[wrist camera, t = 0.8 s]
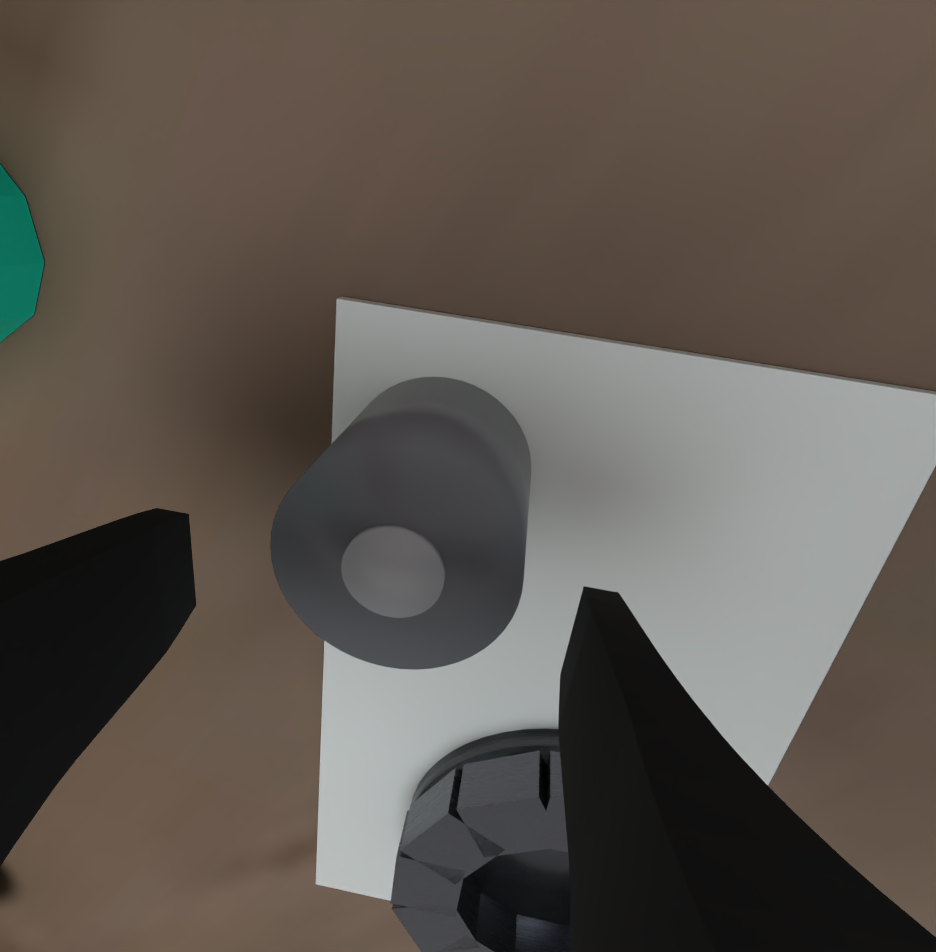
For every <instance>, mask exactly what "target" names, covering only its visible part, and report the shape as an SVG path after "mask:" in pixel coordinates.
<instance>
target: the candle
mask: <svg viewBox="0 0 936 952" xmlns="http://www.w3.org/2000/svg"><path fill="white" fill-rule="evenodd" d="M44 263H45V262H44V259H43V256H42V252H41V249H40V245H39V242H38V239H37V235H36V232H35V228H34V225H33V222H32V218H31V215H30V211H29V208H28V205H27V201H26V198H25V196H24V195H23V193H22V192H21V191H20V189H19V188H18V187H17V185H16V184H15V183H14V182H13V180H12V179H11V178H10V176H9V175H8V174H7V172H6V171H5V170H4V169H3V167H2V166H1V165H0V342H1V341H2V340H4V339H5V338H6V337H7V336H9V335H10V334H11V333H12V332H14V331H15V330H16V329H17V328H18V327H20V326H21V325H22V324H23V323H25V322H26V321H27V320H28V319H30V318H31V317H32V316H33V315H34V313H35V308H36V303H37V298H38V293H39V288H40V283H41V278H42V273H43V268H44Z"/></svg>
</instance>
